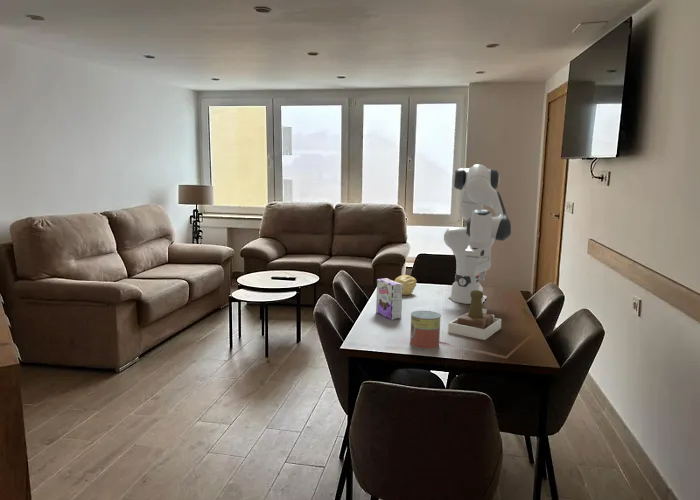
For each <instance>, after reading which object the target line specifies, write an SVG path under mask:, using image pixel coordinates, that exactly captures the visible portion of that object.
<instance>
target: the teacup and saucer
mask: <svg viewBox="0 0 700 500" xmlns="http://www.w3.org/2000/svg"><path fill="white" fill-rule="evenodd" d="M487 310H488V309H487V308H482V312H483V313H485V314H487V312H488V311H487ZM490 314H491V313H490ZM491 315H493V318H495V315H494V314H491Z"/></svg>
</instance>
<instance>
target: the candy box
mask: <svg viewBox="0 0 700 500" xmlns="http://www.w3.org/2000/svg"><path fill="white" fill-rule="evenodd" d="M402 290H403V284H401V283H398V282H395V280H392V279H389V278H387V277H384V278H377V279H376V304H375V305H376V309H375V311H376V312H375V313H376V314H379V315H380V316H382V317H384V318H386V319H389V320H391V321H392V320H393V321H394V320H401V319H402V310H403V309H402V307H403V295H402Z"/></svg>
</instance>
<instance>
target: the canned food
mask: <svg viewBox="0 0 700 500" xmlns="http://www.w3.org/2000/svg"><path fill="white" fill-rule="evenodd" d="M441 317H442V315H441V314H440V313H439V312H435V311H432V310H416V311H412V312H411V313H410V336H409V337H410V339H409V345H410V346H411V347H413V348H415V349H418V350H424V351H425V350H426V351H427V350H435V349H437V348H439V347H440V336H441V335H440V334H441V332H440V331H441Z"/></svg>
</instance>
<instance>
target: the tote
mask: <svg viewBox="0 0 700 500" xmlns="http://www.w3.org/2000/svg"><path fill="white" fill-rule="evenodd" d="M466 313H467V312H466ZM466 313H464V314H466ZM459 317H460V316H458V317H456V318H455V319H453V320H451V321H449V322H448V327H447V333H449V334H450V333H451V334H453V335H458V336H464V337H469V338H473V339H479V340H483V341H486V340H487V339H488V338H490V337H491V336H493V334H495V333H497V332H498V331H499V330H501V329H502V318H497V317H494V318H493V324H491V325H490V326H488V327H487V328H485V329H480V328H475V327H470V326H465V325H460V324H458V318H459Z"/></svg>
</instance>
